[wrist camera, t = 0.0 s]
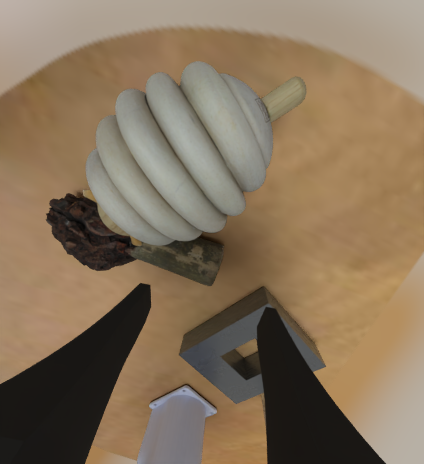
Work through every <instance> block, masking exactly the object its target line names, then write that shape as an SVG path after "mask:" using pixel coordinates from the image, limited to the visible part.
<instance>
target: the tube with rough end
mask: <svg viewBox="0 0 424 464" xmlns="http://www.w3.org/2000/svg"><path fill="white" fill-rule="evenodd" d="M49 204H50V206H51V207H52V208H49V209H50V211H49V213H47V214H46V215H47V219H46V221H47V222H48V223H49V224H50V225H51V226H52V234H53V235H54V237H55V238H56V239H57V240H58V241H59V242H61V243H62V245H63V247H64V249H65V250H66V251H67V254H70V255H73V256H74V257H75V258H76V259H77V260H79V262H80V263H82V264H83V265H84V266H85V265H87V266H88V267H89V268H91V269H93V270H96V271H104V270H109V269H111V268H113V267H115V266H121V265H124V264H127V263H129V262H132V261H134V260H136V259H139V260H142V261H144V262H147V263H150V264H153V265H155V266H158V267H160V268H163V269H165V270H168V271H171V272H173V273H176V274H179V275H181V276H184V277H186V278H189V279H191V280H194V281H196V282H199V283H201V284H204V285H207V286H212V284H213V283H214V281H215V278H216V275H217V272H218V270H219V267H220V264H221V261H222V257H223V250H224V249H223V248H224V245H221V244H218V243H215V242H212V241H208V240H205V239H202V238H198V237H197V238H196V239H194V240H191V241H178V240H175V241H173V242H172V243H170V244H167V245H162V246H157V245H151V244H147V243H144V242H142V241H141V242H142V246H136V245H133V244H132V241H131V238H130V236H124V235H120V234H117V233H115V232H113V231H112V230H110V229H109V228H108V227H107V226H106V225H105V224H104V223H103V221H102V219H101V217H100V215H99V212H98V206H97V203H96V202H94V201H92V200H90V199H88V198H87V197H86V198H76V196H74V195H72V194H69V193H68V194H66V196H65V198H64V199H63V198H61V199H60V200H58V199H52V200H51V201H50V203H49Z"/></svg>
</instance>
